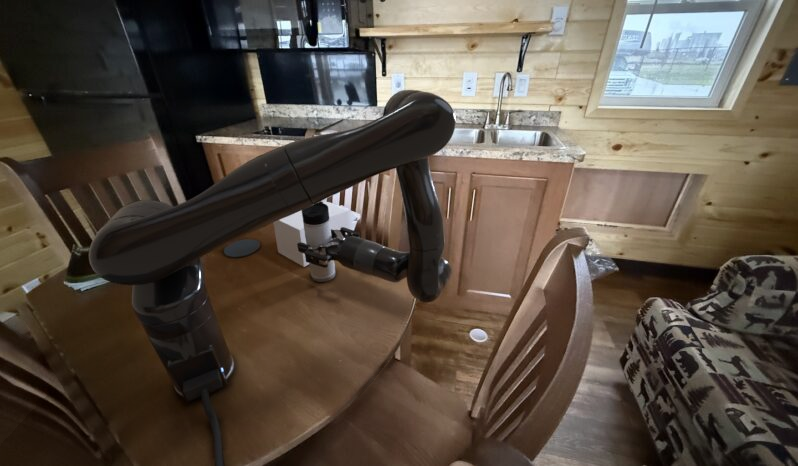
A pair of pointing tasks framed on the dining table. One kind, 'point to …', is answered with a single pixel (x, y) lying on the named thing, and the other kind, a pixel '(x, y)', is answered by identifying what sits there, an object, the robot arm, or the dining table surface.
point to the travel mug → (318, 237)
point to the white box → (293, 232)
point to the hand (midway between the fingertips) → (310, 238)
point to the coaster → (241, 248)
